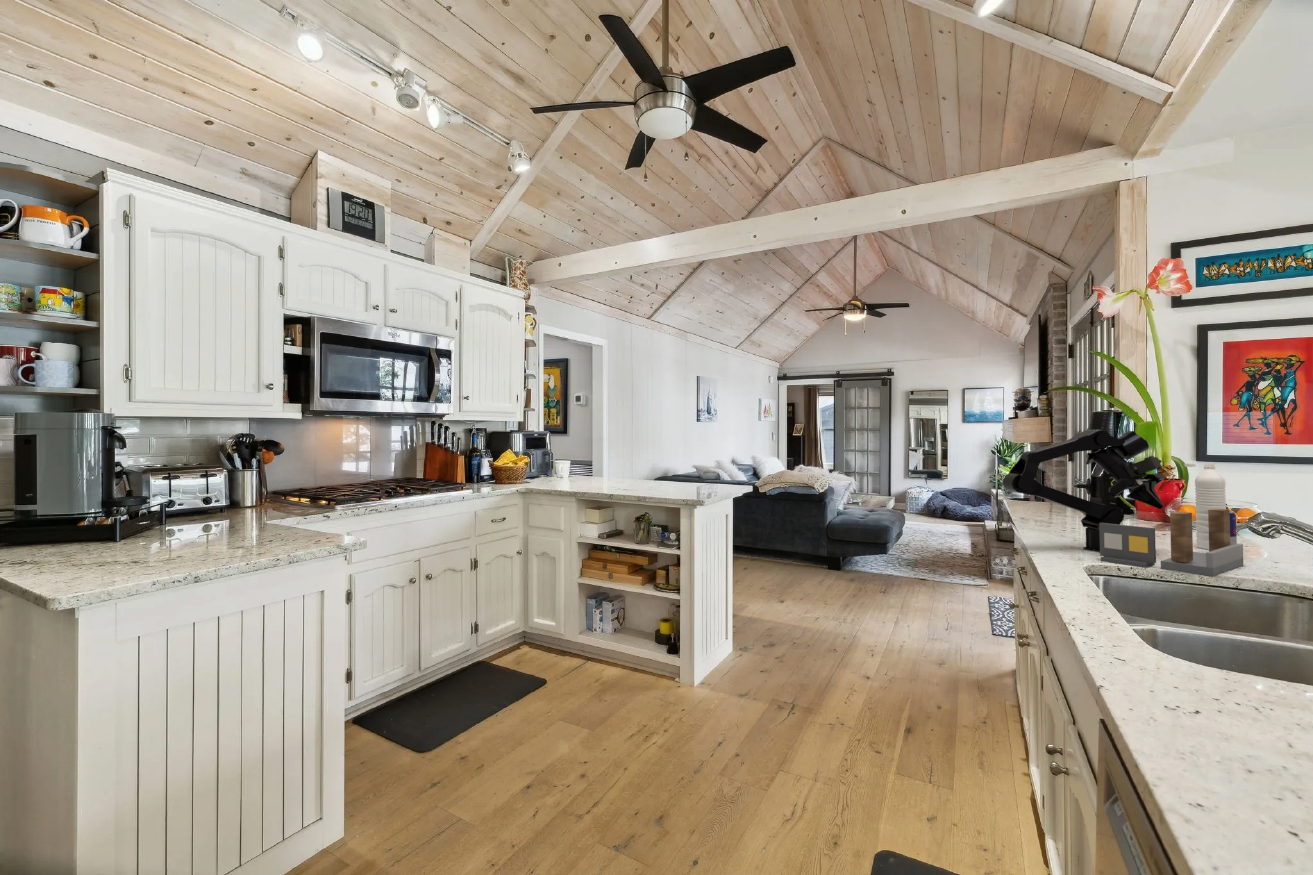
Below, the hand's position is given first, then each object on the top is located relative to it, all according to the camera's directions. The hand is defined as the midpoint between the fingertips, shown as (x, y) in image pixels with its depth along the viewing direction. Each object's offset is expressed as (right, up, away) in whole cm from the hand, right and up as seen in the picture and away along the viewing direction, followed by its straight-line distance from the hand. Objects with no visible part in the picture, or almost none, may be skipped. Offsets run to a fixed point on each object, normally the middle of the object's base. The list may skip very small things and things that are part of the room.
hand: (1162, 508), depth 160 cm
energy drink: (+18, -13, +1) cm, 23 cm away
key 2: (+6, -11, -10) cm, 16 cm away
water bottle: (+22, -13, +11) cm, 28 cm away
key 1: (-7, -11, -14) cm, 20 cm away
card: (-14, -14, -6) cm, 21 cm away
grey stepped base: (0, -14, -13) cm, 18 cm away
